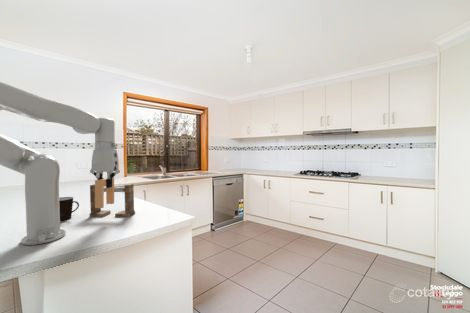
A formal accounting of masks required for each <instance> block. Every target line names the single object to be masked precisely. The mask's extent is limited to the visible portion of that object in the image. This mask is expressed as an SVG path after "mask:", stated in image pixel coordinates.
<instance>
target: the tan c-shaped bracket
mask: <svg viewBox="0 0 470 313" xmlns="http://www.w3.org/2000/svg"><path fill="white" fill-rule="evenodd" d="M106 179H107V177H105V178H104V179H100V180H98V179H95V180H94V184H95V208H101V209H103V208H104V204H105V203H104V200H106V201H105V202H106V205H113V204H115V192H114V187H115V177H114V178H112V187H110V188H106V192H104V187H106ZM104 193H106V196H105V195H104ZM105 198H106V199H105Z"/></svg>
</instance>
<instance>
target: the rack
mask: <svg viewBox="0 0 470 313" xmlns="http://www.w3.org/2000/svg"><path fill="white" fill-rule="evenodd" d="M104 193H106V186H104ZM114 193H124V210H119V211H118V212H116V213H115V214H114V217H115V218H130V217H131V216H134V215H135V214H136V210H135V192H134V183H128V184H124V186H123V187H121V186H119V187H118V186H117V187H115V186H114ZM89 195H90V196H89V197H90V199H89V201H90V203H89V204H90V213H89V216H88V217H90V218H91V217H92V218H93V217H94V218H104V217H106V216H108V215H110V214H111V210H108V209H107V210H101V209H102V208H95V183H94V184H90V185H89Z"/></svg>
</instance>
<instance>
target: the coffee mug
mask: <svg viewBox="0 0 470 313" xmlns="http://www.w3.org/2000/svg"><path fill="white" fill-rule="evenodd" d="M74 203H76V208H75V209H73V206H74ZM59 206H60V222H65V221H70V220H71V219H72V213H74V212H76V211H77V210H78V209H79V207H80V204H79V202H78V201H76V200H74V197H73V196H61V197H60V196H59Z"/></svg>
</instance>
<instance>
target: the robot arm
mask: <svg viewBox="0 0 470 313" xmlns="http://www.w3.org/2000/svg"><path fill="white" fill-rule="evenodd" d="M0 111H6V112H10V113H13V114H16V115H19V116H23V117H26V118H27V119H28V118H29V119H33V120H34V121H35V120H36V121H39V122H43V123H55V124H60V125H64V126H67V127H70V128H72V130H74V132H76V133H78V134H81V135H90V134H94V148H93V152H92V157H91V169H90V170H89V174H92V175H93V176H95V178H96V180H100V179H105V178H103V177H104V173H106V176H107V177H106V178H107V179H106V186H105V187H106V188H110V187H112V178H114V179H115V176H116V175H118V174H120V172H121V171H120V165H119V164H120V162H119V155H118V150H117V149H115V148H116V147H118V143H115V141H116V139H115V136H116V135H115V133H116V132H115V129H116V128H115V125H116V124H115V120H114V119H113V118H109V117H98V116H96V115H94V114H93V113H90V112H87V111H85V110H82V109H80V108H77V107H74V106H71V105H68V104H65V103H61V102H57V101H55V100H51V99H47V98H45V97H42V96H40V95H36V94H34V93H31V92H28V91H26V90H23V89H21V88H18V87H15V86H13V85H9V83H4V82H2V81H0ZM0 166H2V167H5V168H8V169H9V170H12V171H15V172H17V173H19V174H22V175H24V178H25V179H24V195H25V196H24V198H25V200H24V201H25V218H26V219H25V220H26V235H25V236H24V237H23V238H21V240H20V243H21V244H22V245H23V246H24V245H25V246H36V245H42V244H47V243H52V242H54V241H57V240H60V239H61V238H63V237H64V236H65V235H66V230H65V229H61V221H60V206H59V197H60V173H61V169H60V164H59V162H58V160H57V159H56V157H53V156H52V155H50V154H45V153H44V154H43V153H40V152H38V151H36V150H34V149H31V148H30V147H27V146H26V145H23V144H22V143H21V142H20V141H18V140H16V139H14V138H12V137H8V136H6V135H3V134H2V133H0Z"/></svg>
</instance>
